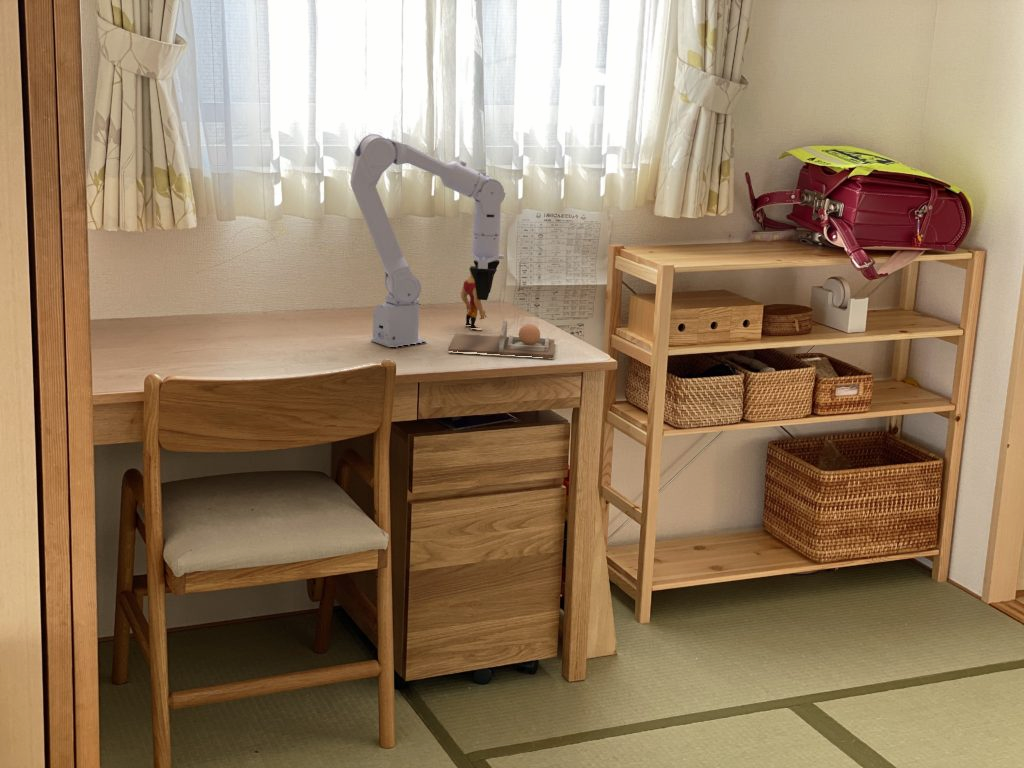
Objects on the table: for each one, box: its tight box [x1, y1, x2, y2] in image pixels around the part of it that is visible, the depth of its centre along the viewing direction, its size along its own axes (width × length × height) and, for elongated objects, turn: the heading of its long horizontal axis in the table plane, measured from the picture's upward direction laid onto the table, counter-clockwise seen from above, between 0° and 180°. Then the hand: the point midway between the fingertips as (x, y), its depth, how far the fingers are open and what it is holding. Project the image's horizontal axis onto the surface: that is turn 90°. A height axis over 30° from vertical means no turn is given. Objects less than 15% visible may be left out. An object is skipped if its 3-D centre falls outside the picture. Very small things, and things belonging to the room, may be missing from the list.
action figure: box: [460, 264, 487, 329], centre depth 272 cm, size 10×4×15 cm, turn 25°
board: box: [447, 320, 556, 359], centre depth 256 cm, size 22×14×4 cm, turn 87°
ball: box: [518, 323, 541, 345], centre depth 256 cm, size 5×5×5 cm
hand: (483, 296), depth 261 cm, fingers open, 7 cm apart
